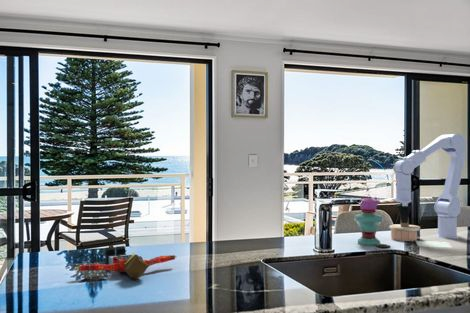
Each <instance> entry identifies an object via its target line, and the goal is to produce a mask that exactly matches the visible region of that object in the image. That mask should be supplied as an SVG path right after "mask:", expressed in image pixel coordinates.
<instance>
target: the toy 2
mask: <svg viewBox="0 0 470 313" xmlns="http://www.w3.org/2000/svg"><path fill="white" fill-rule="evenodd" d="M380 203H381V201H380V199H374V198H367V197H365V198H363V199H362V203H361V204H359V206H360V210H361V211H360V212H361V213H358V214H355V215H354V221H355V222H356V223H357V225H358V227H359V229H360V233H361V237H360V238H358V239H357V245H360V246H364V247H365V246H367V247H376V246H378V245H381V240H380V239H378V237H376V234H377V230H378V228H379V227H380V225H381V223H382V222H383V221H384V217H383V215H380V214H377V212H376V210H377V208H378V207H377V206H378V205H379V204H380Z"/></svg>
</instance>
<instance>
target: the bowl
mask: <svg viewBox="0 0 470 313" xmlns="http://www.w3.org/2000/svg"><path fill="white" fill-rule="evenodd" d="M390 237H391V239H392V240H396V241H404V242H405V241H406V242H411V241H412V242H414V241H418V231H398V230H392V229H390Z"/></svg>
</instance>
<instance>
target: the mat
mask: <svg viewBox="0 0 470 313" xmlns="http://www.w3.org/2000/svg"><path fill="white" fill-rule="evenodd" d="M415 243H416V245H417V247H422V248H423V247H425V248H442V249H443V248H444V249H445V248H446V249H447V248H449V249H453V248H454V247H453V246H452V245H451V244H450V243H449V242H448V241H435V240H433V241H430V240H415Z"/></svg>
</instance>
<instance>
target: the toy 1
mask: <svg viewBox="0 0 470 313" xmlns="http://www.w3.org/2000/svg"><path fill="white" fill-rule="evenodd" d="M104 248H105V263H88V264H82V265H78V266H76V267H74V270H78V271H111V272H119V273H122V272H125V273H127V275H128V276H129V277H130V279H132V280H135V281H136V280H139V279H140V278H141V277H142V276H143V275H144V273H145V272H146V271H147V269H148V268H149V267H150V266H153V265H156V264H162V263H166V262H169V261H174V260H176V258H178V257H177V255H159V256H155V257H154V258H153V257H152V258H151V259H143V257H142V256H139V255H138V254H135V253H134V252H133V253H132V254H127V253H126V247H125V245H121V246H118V245H117V246H109V247H104Z"/></svg>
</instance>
